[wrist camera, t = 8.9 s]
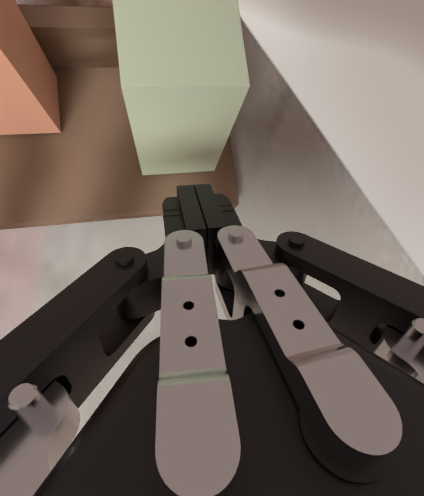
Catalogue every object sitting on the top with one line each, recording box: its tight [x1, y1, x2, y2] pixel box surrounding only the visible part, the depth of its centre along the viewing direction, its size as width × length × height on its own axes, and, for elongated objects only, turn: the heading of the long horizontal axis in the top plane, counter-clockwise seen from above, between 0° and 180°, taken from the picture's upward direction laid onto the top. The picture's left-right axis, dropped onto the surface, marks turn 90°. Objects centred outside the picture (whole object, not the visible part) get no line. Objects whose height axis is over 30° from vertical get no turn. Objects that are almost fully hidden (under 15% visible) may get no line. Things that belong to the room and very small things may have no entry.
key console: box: [0, 5, 239, 229], centre depth 18 cm, size 28×12×5 cm, turn 97°
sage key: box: [113, 0, 250, 175], centre depth 16 cm, size 5×4×9 cm
